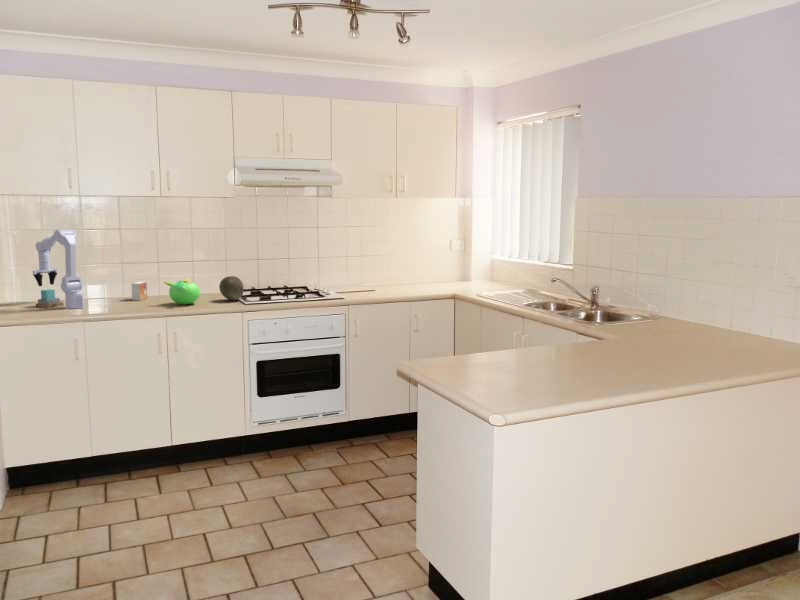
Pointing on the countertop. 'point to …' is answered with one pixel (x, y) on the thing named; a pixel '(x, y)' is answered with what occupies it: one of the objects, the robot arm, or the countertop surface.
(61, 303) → the walnut base slab
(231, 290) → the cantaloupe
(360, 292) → the countertop surface
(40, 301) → the grey top slab
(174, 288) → the toy bird
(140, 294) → the small box
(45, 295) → the teal block
